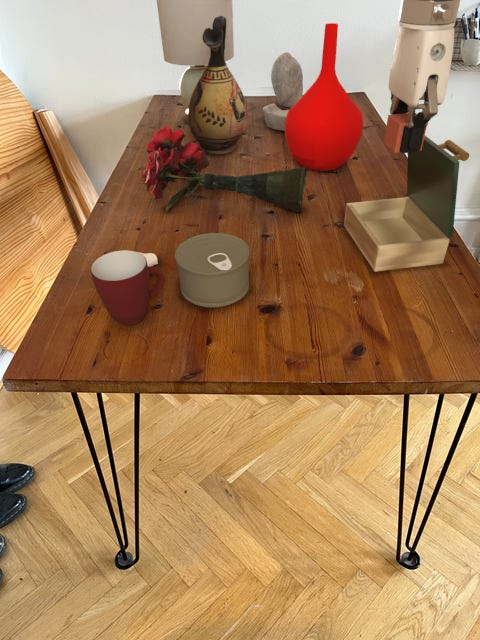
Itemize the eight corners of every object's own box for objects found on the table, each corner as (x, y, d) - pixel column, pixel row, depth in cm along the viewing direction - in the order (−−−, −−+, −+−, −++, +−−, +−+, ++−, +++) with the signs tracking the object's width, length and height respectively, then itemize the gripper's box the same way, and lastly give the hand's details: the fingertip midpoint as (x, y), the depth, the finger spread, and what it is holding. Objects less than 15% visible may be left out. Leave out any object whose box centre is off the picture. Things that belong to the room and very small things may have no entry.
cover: (454, 163, 72) (489, 153, 72) (407, 126, 85) (437, 118, 85) (448, 238, 81) (479, 229, 81) (406, 195, 94) (433, 187, 93)
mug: (149, 289, 81) (139, 237, 75) (179, 309, 77) (171, 257, 70) (95, 318, 76) (79, 265, 69) (124, 342, 71) (110, 288, 65)
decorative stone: (299, 112, 150) (302, 59, 140) (267, 111, 152) (267, 58, 142) (305, 98, 161) (307, 47, 152) (274, 97, 163) (275, 47, 153)
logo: (128, 254, 89) (112, 279, 83) (127, 251, 89) (111, 276, 83) (161, 257, 88) (147, 282, 82) (161, 253, 88) (146, 279, 82)
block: (409, 140, 79) (415, 112, 76) (421, 150, 76) (427, 121, 73) (383, 143, 79) (388, 114, 76) (394, 153, 76) (399, 124, 73)
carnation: (299, 238, 107) (148, 221, 111) (310, 161, 109) (162, 147, 113) (301, 212, 91) (125, 193, 95) (313, 123, 94) (142, 108, 98)
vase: (268, 163, 120) (269, 25, 101) (317, 144, 129) (327, 14, 110) (323, 186, 109) (336, 36, 90) (373, 163, 118) (395, 22, 99)
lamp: (236, 129, 140) (230, -18, 117) (167, 131, 140) (148, -15, 118) (237, 108, 155) (232, -26, 132) (175, 110, 156) (160, -23, 133)
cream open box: (374, 271, 83) (378, 248, 80) (343, 225, 96) (346, 203, 92) (443, 263, 84) (449, 239, 81) (403, 218, 97) (408, 196, 94)
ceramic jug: (243, 160, 122) (239, 24, 103) (184, 158, 125) (170, 24, 105) (253, 136, 135) (251, 11, 116) (199, 135, 137) (189, 11, 118)
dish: (257, 122, 144) (256, 105, 141) (297, 114, 148) (298, 97, 145) (280, 137, 134) (280, 119, 131) (322, 128, 138) (324, 110, 135)
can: (230, 259, 87) (228, 226, 83) (263, 293, 79) (263, 258, 75) (168, 279, 83) (163, 244, 79) (197, 317, 75) (192, 281, 71)
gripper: (487, 21, 60) (450, 164, 71) (426, 2, 72) (402, 126, 84) (430, 25, 59) (402, 168, 71) (378, 5, 72) (361, 130, 83)
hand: (402, 144), depth 77 cm, fingers closed on block, 4 cm apart
